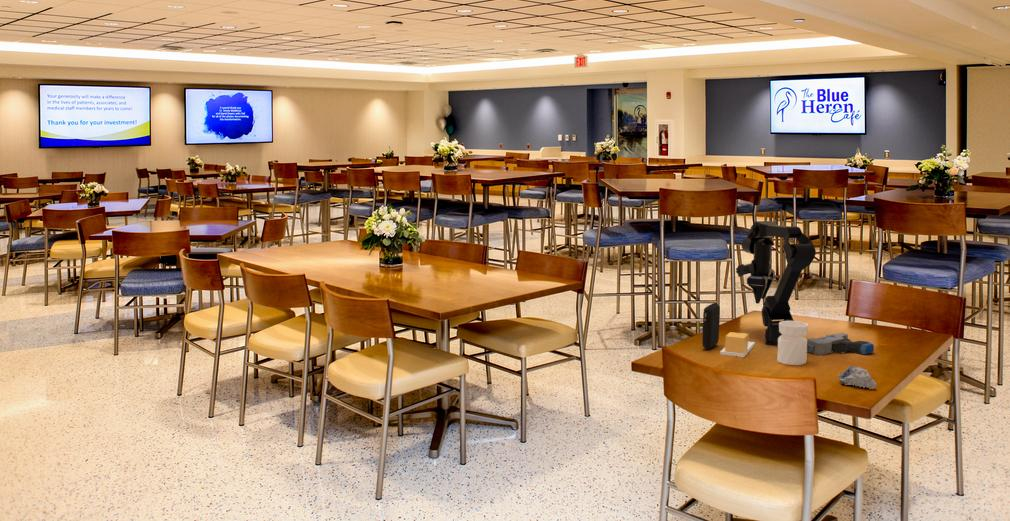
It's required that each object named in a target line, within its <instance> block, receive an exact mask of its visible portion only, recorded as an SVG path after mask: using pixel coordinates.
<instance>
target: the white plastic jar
mask: <svg viewBox="0 0 1010 521" xmlns="http://www.w3.org/2000/svg"><path fill="white" fill-rule="evenodd" d="M780 321H781V320H780ZM779 332H780V333H781V334H782V335H781V336H780V337H779V338H778V345H777V356H776V361H777V362H779V363H781V364H784V365H787V366H789V365H790V366H791V365H792V366H802V365H804V364H806V363H807V357H808V356H807V355H808V351H807V339H808V338H807V337H805V336H806V335H807V334H809V324H808V323H806V322H803V321H798V320H794V321H781V322H779Z"/></svg>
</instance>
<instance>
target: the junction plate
mask: <svg viewBox="0 0 1010 521" xmlns="http://www.w3.org/2000/svg"><path fill="white" fill-rule="evenodd" d="M742 333H743V334H747V333H745V332H742ZM755 344H756V341H749V340H748V349H747V350H746V352H745V353H735V352H727V351H725V346H724V347H723V348H722V349H721V350H720V351H719V354H720V356H729V357H736V356H737V358H744V357H746V356H745V355H748V353H749V352H750V351H751V350H752V349H753V348H754V347H755Z"/></svg>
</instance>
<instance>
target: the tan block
mask: <svg viewBox="0 0 1010 521" xmlns="http://www.w3.org/2000/svg"><path fill="white" fill-rule="evenodd" d="M743 333H744V332H732V331H729V333H726V335H725V337H724V338H725V340H724V342H725V343H724V347H725V351H727V352H735V353H745V352H746V350H747V349H748V341H749V333H746V334H743Z"/></svg>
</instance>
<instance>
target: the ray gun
mask: <svg viewBox="0 0 1010 521" xmlns="http://www.w3.org/2000/svg"><path fill="white" fill-rule="evenodd" d="M848 336H849V335H848V333H844V332H840V333H839V332H838V333H832V334H826V335H825V336H821V337H818V338H817V337H811V338H807V352H808V351H809V353H811V354H813V353H814V355H816V354H817V355H816V356H825V355H824V354H826V355H829V354H828V353H831V354H832V353H838V354H842V353H846V352H851V353H855V352H856V353H855V354H859V353H860V355H868V354H873V353H874V350H875V347H874V346H875V344H874V343H872V342H870V341H866V340H865V341H864V340H857V341H852V340H851V339H850V338H849V337H848ZM832 351H833V352H832Z"/></svg>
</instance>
